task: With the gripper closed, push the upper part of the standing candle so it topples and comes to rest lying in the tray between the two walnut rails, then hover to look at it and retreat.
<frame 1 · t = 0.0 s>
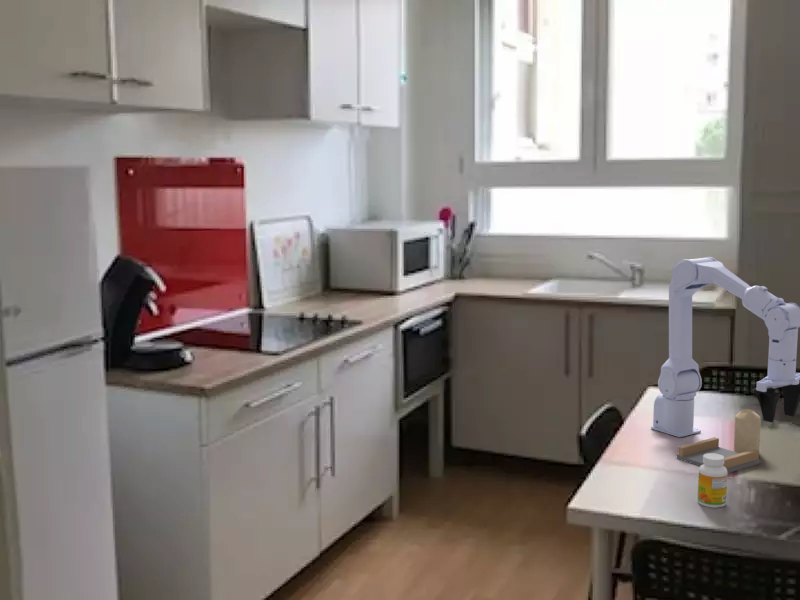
hand: (779, 418, 206), 10 cm above the table, tool pointing down, fingers open, 7 cm apart
tray: (717, 460, 209), on the table
candle: (746, 453, 214), on the table
supplement bottle: (711, 504, 184), on the table
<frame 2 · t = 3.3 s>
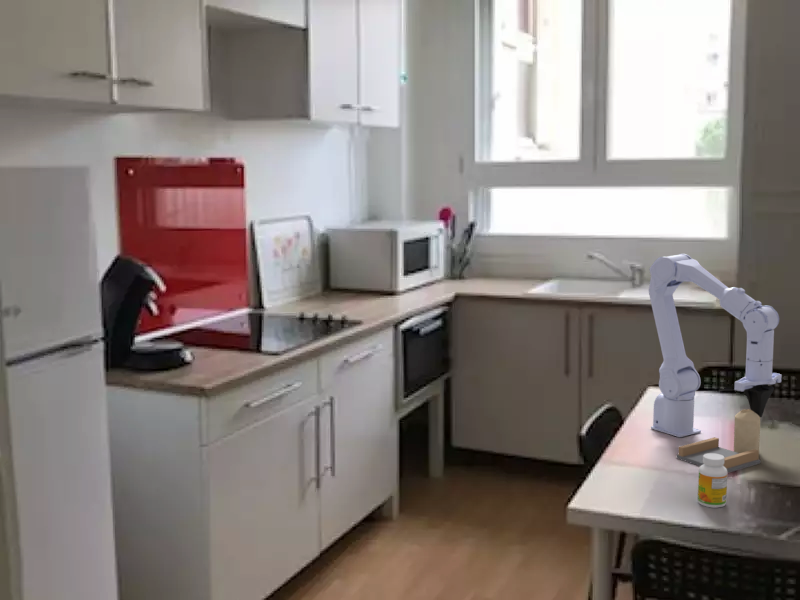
hand: (756, 416, 214), 8 cm above the table, tool pointing down, fingers closed
candle: (746, 453, 214), on the table, touching gripper
everything else where it was.
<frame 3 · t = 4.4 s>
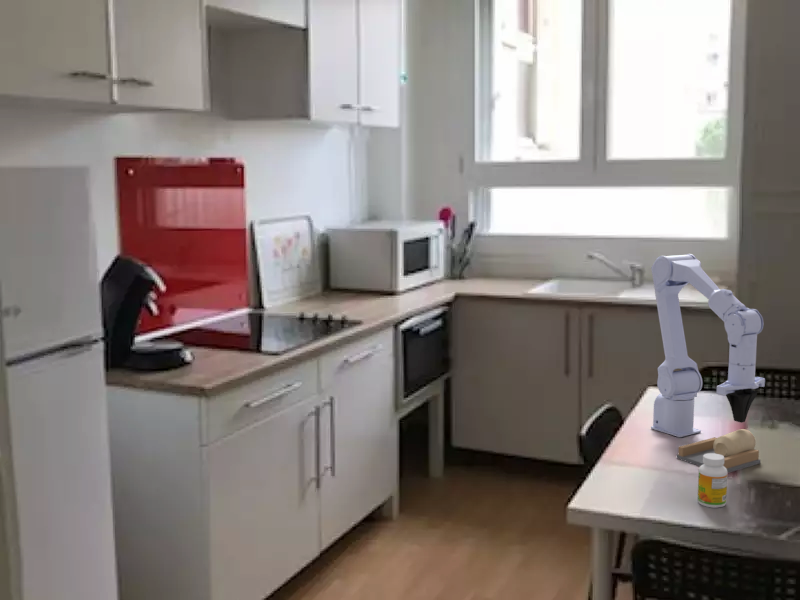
hand: (739, 421, 211), 8 cm above the table, tool pointing down, fingers closed
candle: (745, 440, 211), point 4 cm above the table, touching tray
everything else where it was.
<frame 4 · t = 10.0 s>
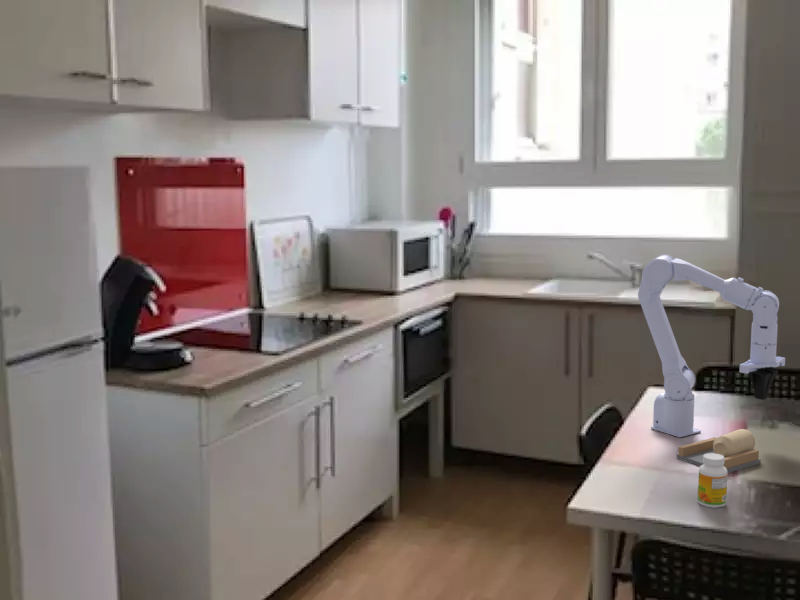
hand: (760, 398, 221), 10 cm above the table, tool pointing down, fingers closed
nothing on the table moved.
at the end: candle tilted 90°; candle inside the target area (6.5 cm from its centre), point 3.5 cm above the table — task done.
